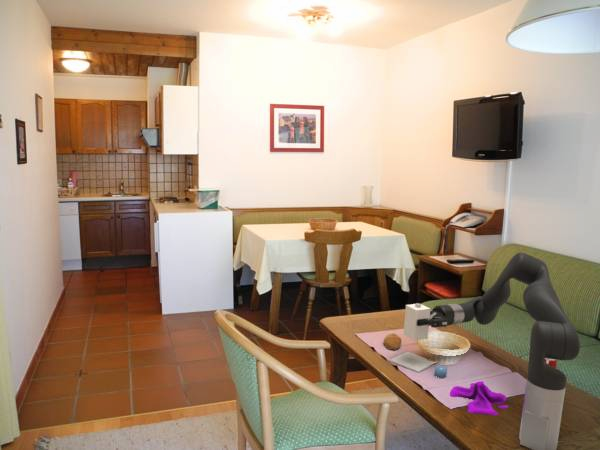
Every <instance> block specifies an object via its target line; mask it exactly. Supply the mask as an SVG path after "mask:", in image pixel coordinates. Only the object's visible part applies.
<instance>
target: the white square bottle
mask: <svg viewBox="0 0 600 450" xmlns="http://www.w3.org/2000/svg"><path fill="white" fill-rule="evenodd" d="M430 310H431V308H430V307H428V306H426V305H424V304H422V303H419V302H416V303H413V304H412V303H411V304H405V313H404V324H403V333H402V334H403V335H404V336H405V337H407V338H408V339H410V340H412V341H421V340H426V339H428V338H429V327H430V326H427V325H423V326H417V320H418V319H425V318H426V319H427V318H430Z"/></svg>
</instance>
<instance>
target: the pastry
mask: <svg viewBox="0 0 600 450" xmlns="http://www.w3.org/2000/svg"><path fill="white" fill-rule="evenodd" d="M383 344H384V347H385V348H386V349H387V350H395V351H396V350H398V349H399V348H401V345H402V338H401V337H400V336H399V335H398V334H396V333H390V334H387V335H386V336H385V338H383Z"/></svg>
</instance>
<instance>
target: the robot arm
mask: <svg viewBox="0 0 600 450" xmlns="http://www.w3.org/2000/svg"><path fill="white" fill-rule="evenodd" d="M511 279H514V280H516V281H518V282H520V283H523V284H525V285H527V286H526V287H525V289H524V290H523V293H522V299H523V303H524V307H525V309H526V312H527V313H528V315H529V316H530V317H531V318H532V319H533V320H535V322H534V323H533V324H532V328H531V332H530V337H529V338H530V339H529V356H528V365H527V374H526V382H525V388H524V389H525V391H524V398H523V404H522V405H523V406H522V411H521V412H522V413H521V420H520V428H519V434H518V438H519V439H518V440H519V445H521V446H523V447H526V448H528V449H529V450H557V449H558V444H559V436H560V428H561V422H562V415H563V414H562V412H563V409H564V408H563V407H564V401H565V394H566V393H565V392H566V386H567V376H566V374H565V373H564V372H563V371H562V370H560V369H558V368H557V367H556V368H554V367H552V366H550V365H548V364H547V363H545V362H544V359H545V358H548V359H556V360H557V361H573V360H575V359H576V358H577V357H578V356H579V353H580V349H581V344H580V343H581V341H580V338H579V337H580V336H579V334H578V331H577V329H576V327H575V326H574V324H573V323H572V321H571V320H570V318H569V316H567V314H566V313H565V309H564V308H563V307H562V304H561V301H560V299H559V297H558V294H557V292H556V291H555V289H554V286H553V284H552V282H551V278H550V273H549V268H548V266H547V264H546V263H545V262H544V261H543V260H541V259H539V258H537V257H535V256H533V255H530V254H527V253H525V252H521V251H519V252H517V253H515V254H514V255H513V256H512V257H511V258H510V260H509V261H508V262H507V264H506V265H505V267H504V269H502V271H501V273H500V274H499V276H498V278H497V279H496V280H495V282H494V283H493V285H492V286H491V287H490V288H488V290H486V292H485V293H484V294H483V295H482V296H480V295H479V296H476V297H474V298H472V299H470V300H469V301H466V302H462V303H448V304H440V305H436V306H435V305H434V307H433V308H432V309H430V318H427V319H426V318H425V319H418V320H417V326H423V325H427V326H429V327H430V328H443V327H444V328H445V327H447V326H454V325H458V324H463V323H469V322H472V321H473V320H474V319H475V321H476V322H477V323H478V324H479V325H484V326H485V325H490V323H492V322H493V321H494V320H495V318H496V317H497V315H498V312H499V310H500V308H501V307H502V306H503V305H505V303H506V302H507V301H508V300H509V298H510V296H511V283H510V282H511Z"/></svg>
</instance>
